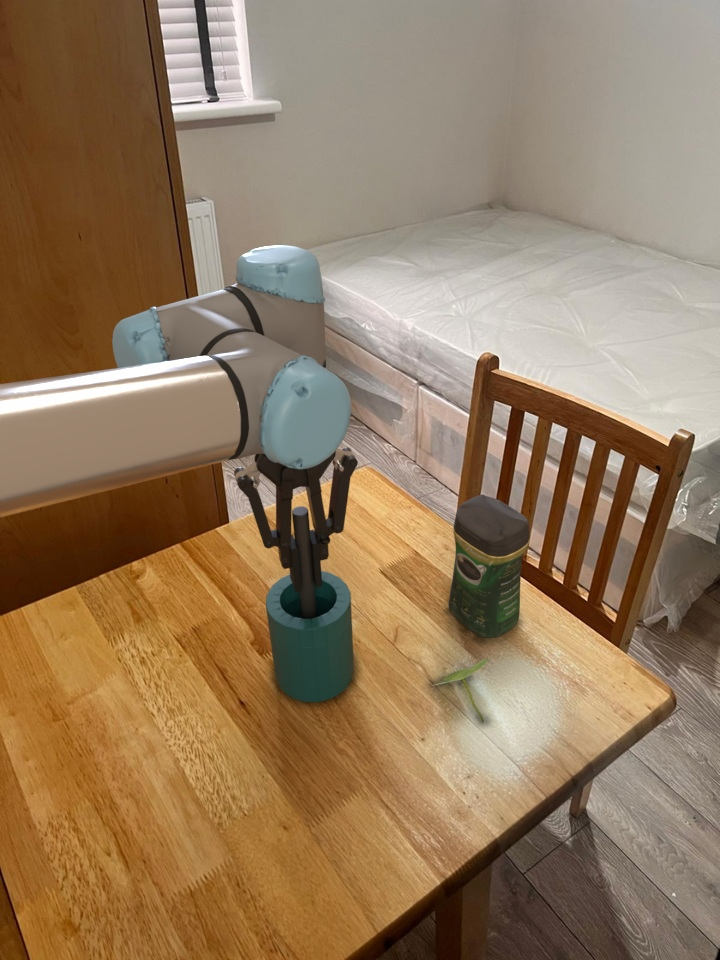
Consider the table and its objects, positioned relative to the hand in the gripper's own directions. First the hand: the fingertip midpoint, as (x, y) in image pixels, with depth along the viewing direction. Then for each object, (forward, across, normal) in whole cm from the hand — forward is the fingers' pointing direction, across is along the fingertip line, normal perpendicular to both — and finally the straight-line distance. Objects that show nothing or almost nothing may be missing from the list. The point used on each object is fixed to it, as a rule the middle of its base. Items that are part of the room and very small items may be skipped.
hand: (306, 581), depth 86 cm
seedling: (+16, -16, +10) cm, 25 cm away
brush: (+13, 0, 0) cm, 13 cm away
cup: (+16, 0, 0) cm, 16 cm away
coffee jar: (+16, -25, -2) cm, 30 cm away
